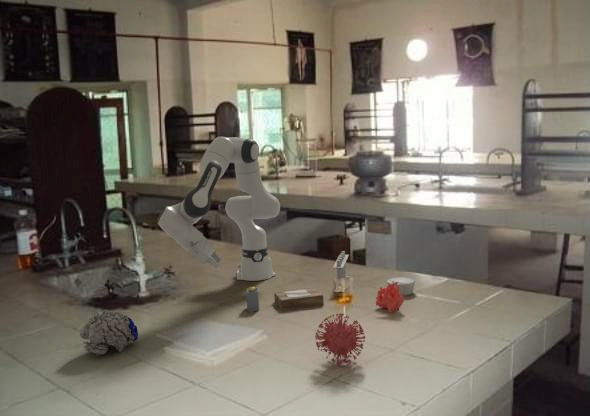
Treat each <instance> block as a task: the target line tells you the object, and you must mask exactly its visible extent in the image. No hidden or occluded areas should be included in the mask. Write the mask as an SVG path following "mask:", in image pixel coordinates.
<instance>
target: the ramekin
mask: <svg viewBox="0 0 590 416" xmlns="http://www.w3.org/2000/svg"><path fill="white" fill-rule="evenodd" d="M392 282H394V283H395V282H398V284H397V285H399V287H400V289H399V293H400V294H401V295H402V296H403V297H405V296H409V295H411V294H413V292H414V286H415V280H414V278H411V277H402V276H401V277H399V276H398V277H391V278H389V279H387V281H386V284H387V286H388V285H389V284H392ZM397 285H395V287H396V288H397ZM389 289H390V288H389Z"/></svg>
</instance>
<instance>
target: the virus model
mask: <svg viewBox="0 0 590 416" xmlns="http://www.w3.org/2000/svg"><path fill="white" fill-rule="evenodd" d="M344 315H345V313H336V314H331V315H329V316H328V317H325V318H324V319H323V320H322V321H321V323H319V324H318V328H320V329H323V330H324V331H325V332H324V331H321V330H319V329H316V332H315V338H314V339H315V340H319V341H315V345H316V347H317V351H321V352H323V351H324V352H325V353H328V355H327V356H326V357H325V359H328V357H329V355H331V354H333V357H332V359H330V360H331V361H332V362H333V363H335V360H337V362H336V365H342V364H343V363H344V364H348V363H350V362H351V359H350V358H352V357H353V360H357V357H359V356H360V354H361V352H362V350H363V349H364V347H363V346H364V342H366V335H365V331H364V329H363V327H362V325H361V324H360V323H359V321H358V320H357V319H356V320H353V322H352V324H351V323H349V325H348V324H347V323H348V320H349V318H350V316H348V314H347V315H346V316H344ZM334 316H336V318H335V317H334ZM332 318H333V320H331V319H332ZM343 318H344V320H343ZM328 319H329V320H328ZM324 325H325V326H324ZM361 335H362V336H361ZM320 348H321V349H320ZM359 348H360V349H359ZM353 352H354V353H355V354H353ZM356 356H357V357H356Z"/></svg>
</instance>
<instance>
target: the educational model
mask: <svg viewBox="0 0 590 416" xmlns="http://www.w3.org/2000/svg"><path fill="white" fill-rule="evenodd" d="M85 323H86V324H84V326H83V327H82V328H81V329H80V330H79V331H80V332H79V337H80V338H82V339H83V340H87V341H82V344H84V345H83V346H82V347H83V348H84V350H86V351H87V352H90V353H93V354H95V355H96V356H99V355H105V353H107V351H109V346H113V347H114V348H115V349H116V351H118V352H119V353H122V351H123V350H125V349H126V347H128V343H134V342H136V341H137V340H138V339H139V332H138V331H139V330H138V326H137V325H136V324H135V323H134V321H133V319H132V318H130V317H129V316H128V315H126V314H123V313H121V312H119V311H114V310H107V309H103V311H98V312H96V314H95V315H93V316H91V317H90V318H89V319H88V320H87V322H85ZM88 340H89V341H88Z"/></svg>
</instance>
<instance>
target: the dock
mask: <svg viewBox="0 0 590 416" xmlns="http://www.w3.org/2000/svg"><path fill="white" fill-rule="evenodd" d="M273 293H274V294H273V296H274V303H275V304H276V306H277V307H278V308H279V309H280V310H282V311H288V310H295V309H302V308H309V307H317V306H324V304H325V303H324V294H322V293H321V292H320V291H319V290H317V288H315V287H310V288H309V287H308V288H301V289H293V290H283V291H277V292H276V291H275V292H273Z"/></svg>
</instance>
